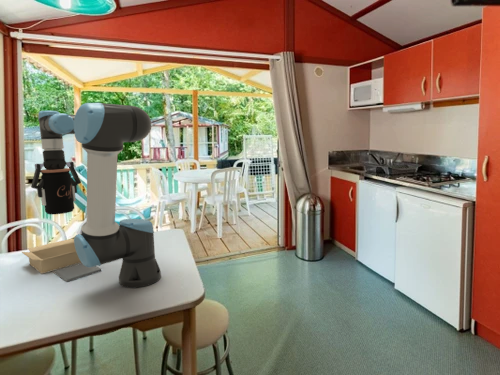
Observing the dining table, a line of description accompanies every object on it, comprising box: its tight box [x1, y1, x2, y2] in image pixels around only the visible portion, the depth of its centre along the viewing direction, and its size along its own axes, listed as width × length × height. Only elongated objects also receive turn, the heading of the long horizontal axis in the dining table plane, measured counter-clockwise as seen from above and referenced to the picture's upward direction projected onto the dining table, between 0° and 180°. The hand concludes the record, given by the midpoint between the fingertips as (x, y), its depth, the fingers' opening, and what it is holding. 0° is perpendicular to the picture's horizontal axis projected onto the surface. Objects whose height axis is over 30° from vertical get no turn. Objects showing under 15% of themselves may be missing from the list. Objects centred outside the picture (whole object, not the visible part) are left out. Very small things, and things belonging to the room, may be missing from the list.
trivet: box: [53, 262, 102, 283], centre depth 129 cm, size 13×13×1 cm
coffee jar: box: [40, 167, 75, 215], centre depth 133 cm, size 11×11×18 cm
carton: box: [21, 238, 82, 274], centre depth 141 cm, size 20×24×6 cm
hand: (59, 202), depth 134 cm, fingers closed on coffee jar, 11 cm apart
